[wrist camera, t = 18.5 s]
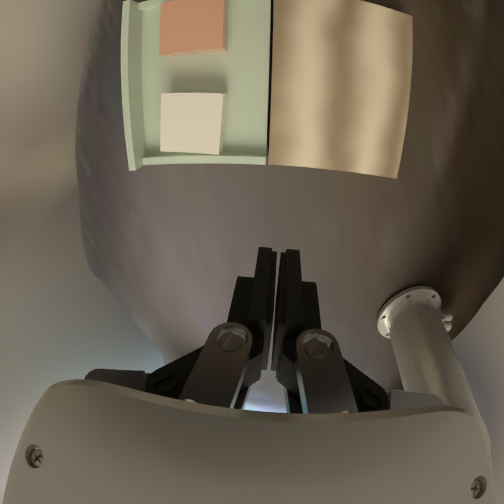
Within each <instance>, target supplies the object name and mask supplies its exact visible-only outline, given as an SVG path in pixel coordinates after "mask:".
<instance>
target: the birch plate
mask: <svg viewBox="0 0 504 504" xmlns="http://www.w3.org/2000/svg"><path fill="white" fill-rule="evenodd" d="M412 49H413V25H412V16H410V15H407V14H404V13H402V12H399V11H396V10H393V9H390V8H386V7H383V6H380V5H376V4H373V3H369V2H365V1H361V0H274V12H273V53H272V86H271V114H270V139H269V163H268V164H271V165H287V166H300V167H312V168H322V169H331V170H340V171H348V172H356V173H363V174H370V175H377V176H383V177H389V178H395V179H397V174H398V169H399V164H400V159H401V154H402V148H403V142H404V136H405V130H406V123H407V115H408V107H409V97H410V87H411V73H412Z"/></svg>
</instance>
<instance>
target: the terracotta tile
mask: <svg viewBox="0 0 504 504" xmlns="http://www.w3.org/2000/svg"><path fill="white" fill-rule="evenodd" d="M228 2H229V1H228V0H173V1H168V2H163V3H161V12H160V39H159V55H161V56H166V57H172V56H180V55H188V54H198V53H211V52H227V36H228Z"/></svg>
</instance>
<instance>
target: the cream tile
mask: <svg viewBox="0 0 504 504" xmlns="http://www.w3.org/2000/svg"><path fill="white" fill-rule="evenodd" d="M227 99H228V93H216V92H168V93H161V118H160V151H163V152H187V153H203V154H216V155H219V154H220V153H221V151H222V150H223V148H224V134H225V122H226V110H227Z"/></svg>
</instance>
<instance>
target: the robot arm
mask: <svg viewBox="0 0 504 504" xmlns="http://www.w3.org/2000/svg"><path fill="white" fill-rule="evenodd" d="M276 260H277V252H273V251H272V248H267V247H259V250H258V257H257V263H256V270H255V276H254V278H252V277H241V276H238V277H237V281H236V285H235V290H234V294H233V298H232V302H231V307H230V311H229V315H228V320H227V323H223V324H221V325H218V326H217V327H215V328H214V329H213V330H212V331H211V333H210V334H209V336H208V338H207V340H206V342H205V344H204V346H202V347H200V348H198V349H196V350H195V351H193V352H191V353H189V354H187V355H185V356H183V357H181V358H179V359H177V360H175V361H173V362H171V363H169V364H167V365H165V366H163V367H161V368H159V369H157V370H155V371H154V372H153V373H145V371H135V370H114V369H94V370H92V371H90V372H89V373H88V374H87V375H86V376H85V378H84V379H74V380H65V381H61V382H57V383H55V384H53V385H52V386H50V387H49V388H48V389H47V390H46V391H45V392H44V394H43V395H42V396H41V398H40V399H39V401H38V402H37V404H36V406H35V408H34V409H33V412H32V413H31V415H30V417H29V419H28V422H27V424H26V426H25V428H24V430H23V433H22V435H21V438H20V441H19V443H18V446H17V449H16V452H15V455H14V458H13V461H12V464H11V468H10V471H9V475H8V480H7V484H6V488H5V493H4V499H3V504H495V492H494V478H493V468H492V462H491V457H490V452H491V442H490V437H489V434H488V431H487V429H486V427H485V425H484V422H483V420H482V418H481V416H480V414H479V411H478V409H477V406H476V404H475V402H474V399H473V396H472V394H471V391H470V388H469V386H468V383H467V380H466V377H465V375H464V372H463V370H462V367H461V364H460V362H459V359H458V356H457V354H456V352H455V349H454V347H453V344H452V342H451V340H450V337H449V335H448V333H447V331H450V329H451V322H450V321H451V320H452V314H451V313H445V314H443V313H442V311H441V309H440V307H441V299H440V296H439V294H438V292H437V291H436V290H435V289H433V288H432V287H429V286H415V287H411V288H408V289H406V290H403V291H401V292H400V293H398V294H396V295H395V296H393V297H392V298H391V299H390V300H388V301H387V302H386V303H385V304H384V306H383V307H382V308H381V310H380V312H379V314H378V316H377V327H378V330H379V332H380V333H381V334H382V335H383V336H384V337H387V338H390V340H391V343H392V346H393V350H394V353H395V357H396V360H397V364H398V368H399V371H400V375H401V379H402V383H403V387H404V391H400V390H391V391H390V392H388V391H385V390H384V389H383V388H382V387H381V386H380V385H378V384H377V383H376V382H374V381H373V380H372V379H370V378H369V377H368V376H366V375H365V374H364V373H362V372H361V371H360V370H358V369H357V368H356V367H354V366H353V365H352V364H350V363H349V362H348V361H346V360H345V359H344V358H342V355H341V351H340V348H339V345H338V342H337V340H336V339H335V337H334V336H333V335H332V334H330V333H328V332H327V331H324V330H321V321H320V312H319V303H318V294H317V286H316V283H315V282H304V281H302V278H301V263H300V251H299V250H292V249H286V252H281V256H280V266H279V276H278V285H277V294H276V303H275V319H274V335H273V350H272V364H271V370H273V371H276V378H277V381H278V382H280V383H281V384H282V385H283V386H284V387H285V388H284V393H285V401H286V408H287V413H275V412H261V411H250V410H243V409H244V406H245V403H246V400H247V397H248V394H249V391H250V385H252V384H253V383H255V382H256V381H258V380H259V379H260V375H261V370H267V364H268V356H269V348H270V340H271V332H272V324H273V312H274V296H275V278H276Z"/></svg>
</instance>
